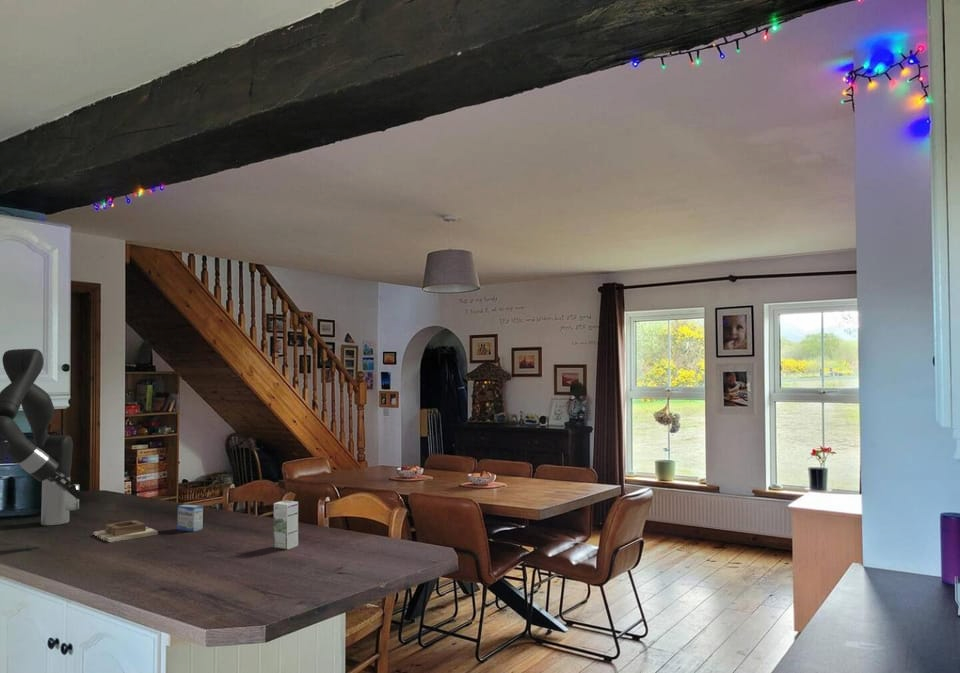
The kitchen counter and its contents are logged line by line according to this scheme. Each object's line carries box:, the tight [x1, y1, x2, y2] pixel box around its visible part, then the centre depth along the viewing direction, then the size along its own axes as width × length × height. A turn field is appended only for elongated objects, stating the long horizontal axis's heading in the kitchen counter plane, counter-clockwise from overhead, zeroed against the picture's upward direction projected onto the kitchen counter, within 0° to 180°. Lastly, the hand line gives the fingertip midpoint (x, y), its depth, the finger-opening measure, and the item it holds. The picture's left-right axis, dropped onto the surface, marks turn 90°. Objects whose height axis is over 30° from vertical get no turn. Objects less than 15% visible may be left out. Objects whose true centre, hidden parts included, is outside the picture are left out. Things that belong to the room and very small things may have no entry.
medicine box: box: [176, 504, 204, 533], centre depth 251 cm, size 8×4×9 cm, turn 68°
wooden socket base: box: [92, 519, 159, 543], centre depth 244 cm, size 16×16×4 cm
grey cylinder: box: [65, 483, 80, 511], centre depth 232 cm, size 4×4×8 cm
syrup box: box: [273, 500, 299, 550], centre depth 225 cm, size 6×6×14 cm
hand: (78, 496), depth 234 cm, fingers closed on grey cylinder, 4 cm apart
